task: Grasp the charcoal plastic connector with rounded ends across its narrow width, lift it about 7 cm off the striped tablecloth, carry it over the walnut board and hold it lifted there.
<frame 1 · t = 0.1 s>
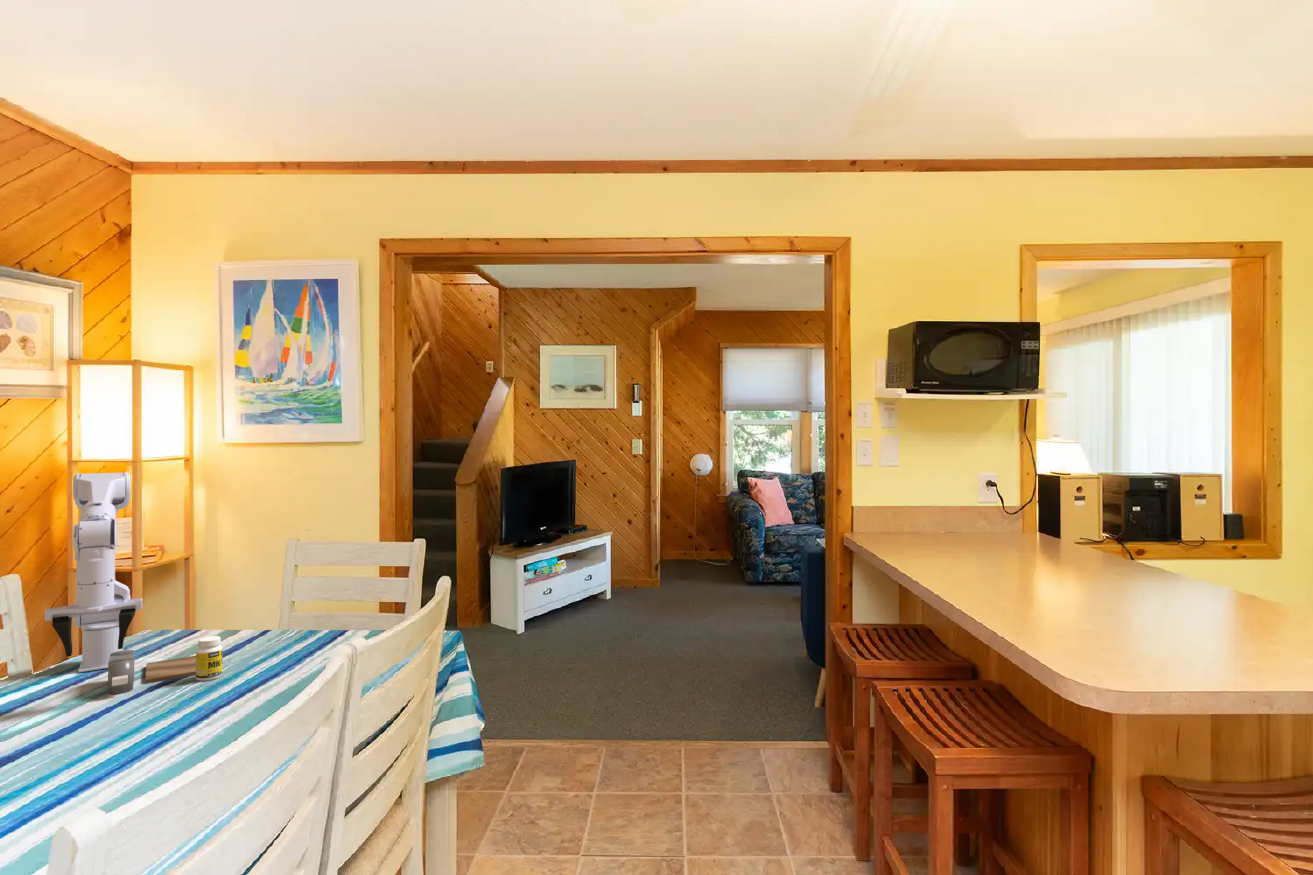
hand: (95, 651, 131), 10 cm above the table, tool pointing down, fingers open, 7 cm apart
supplement bottle: (209, 678, 144), on the table
walnut board: (179, 669, 150), on the table
connector: (121, 685, 140), on the table
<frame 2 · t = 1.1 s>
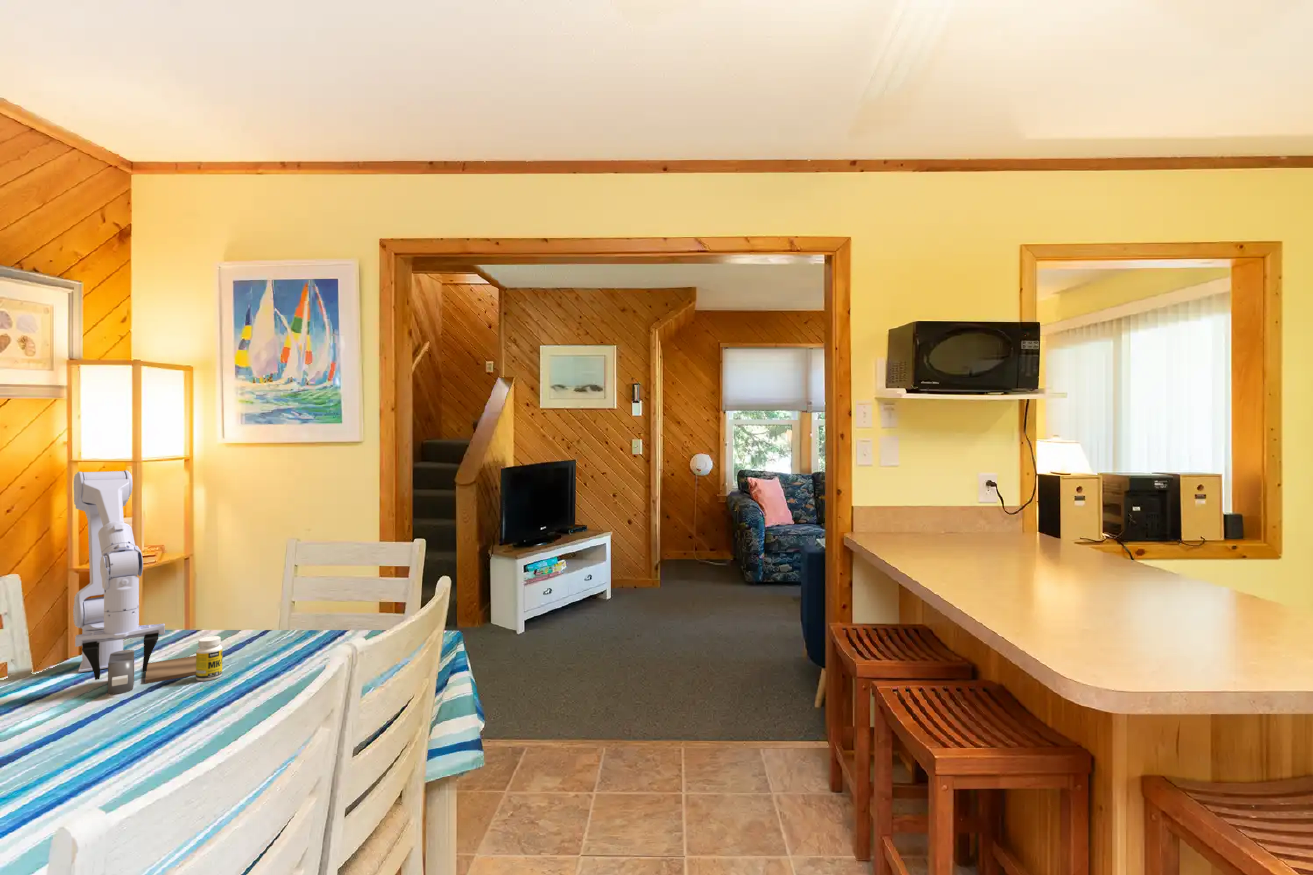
hand: (121, 674, 140), 2 cm above the table, tool pointing down, fingers open, 7 cm apart
nothing on the table moved.
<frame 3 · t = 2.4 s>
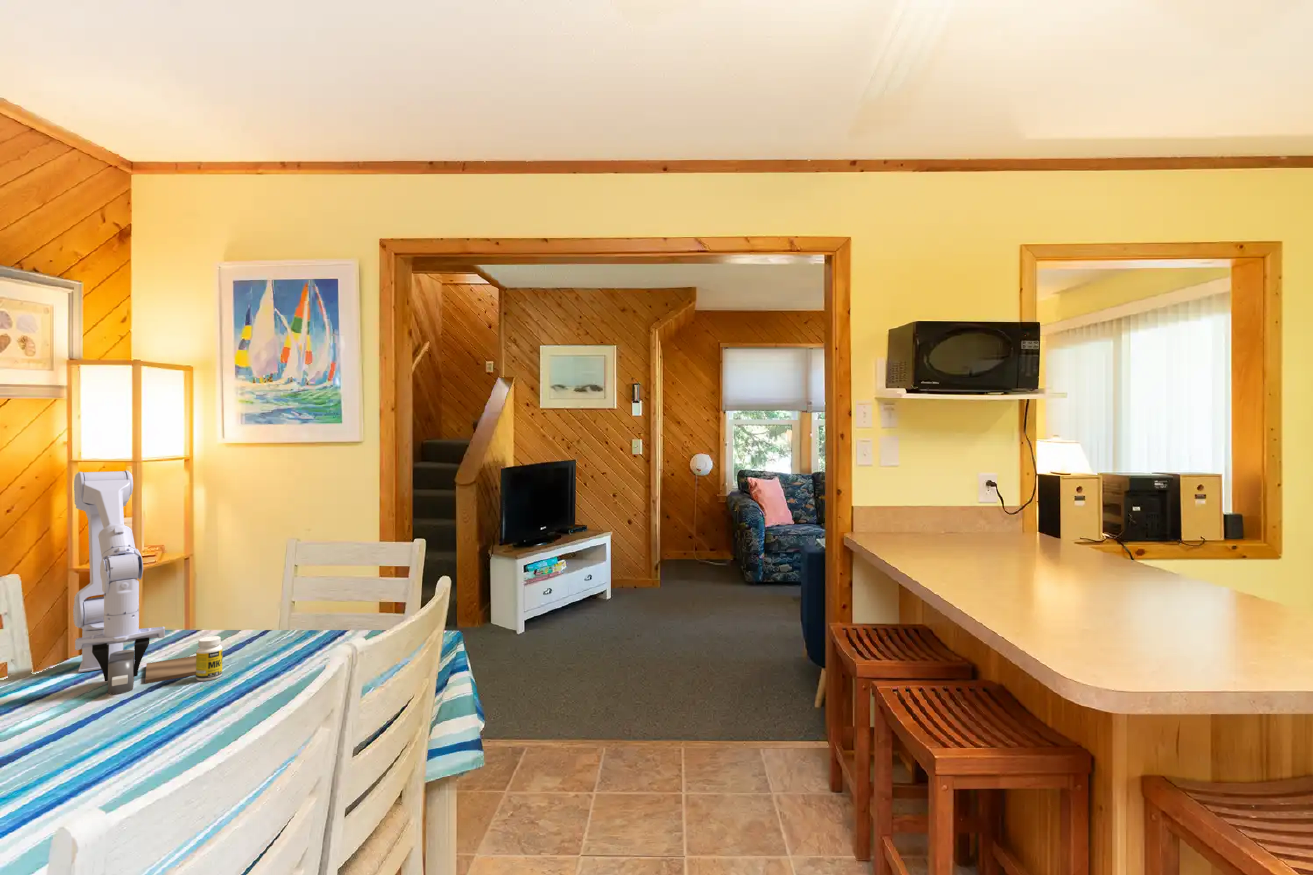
hand: (121, 677, 140), 2 cm above the table, tool pointing down, fingers closed on connector, 4 cm apart
connector: (121, 685, 140), on the table, touching gripper
everything else where it was.
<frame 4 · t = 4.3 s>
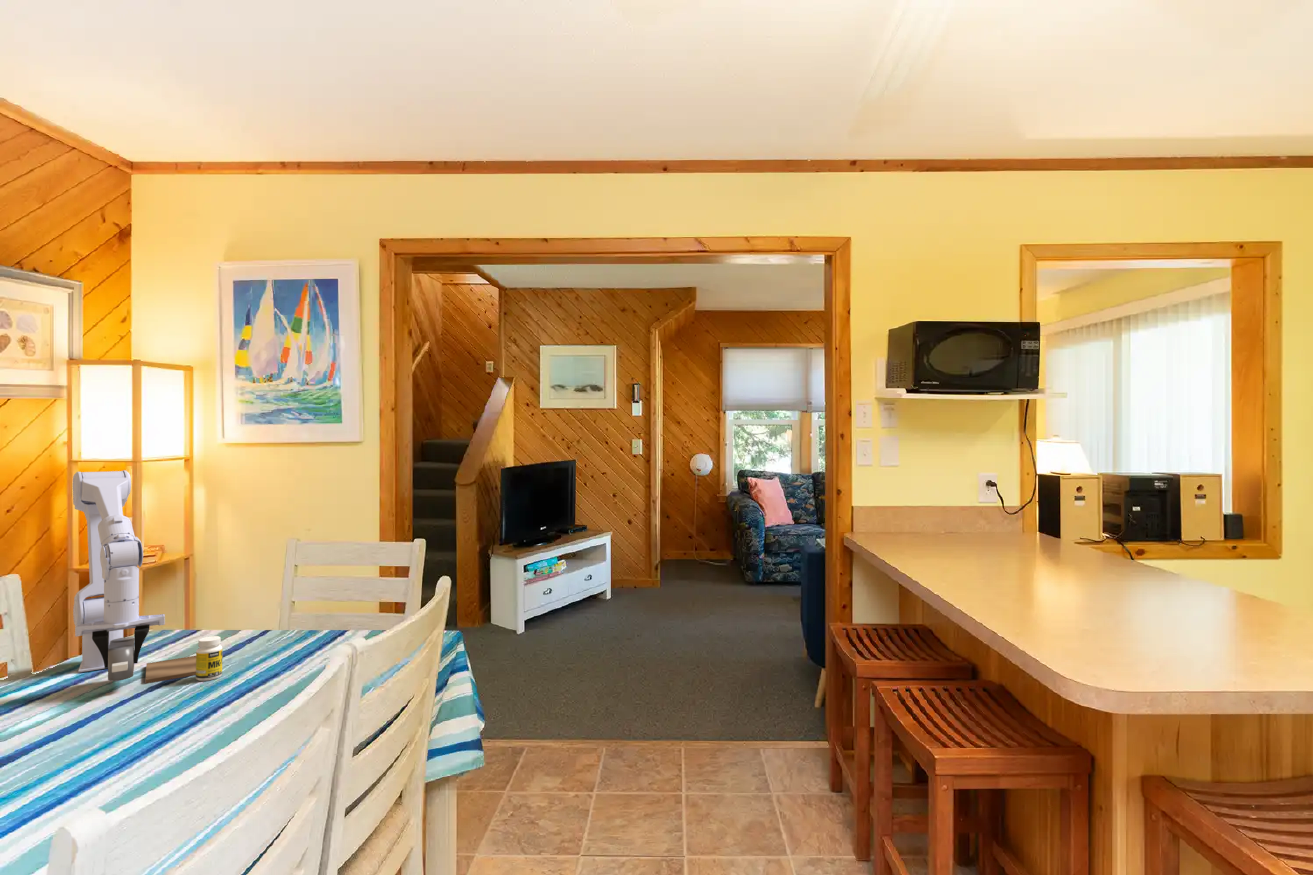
hand: (121, 664, 140), 4 cm above the table, tool pointing down, fingers closed on connector, 4 cm apart
connector: (121, 672, 140), point 3 cm above the table, touching gripper
everything else where it was.
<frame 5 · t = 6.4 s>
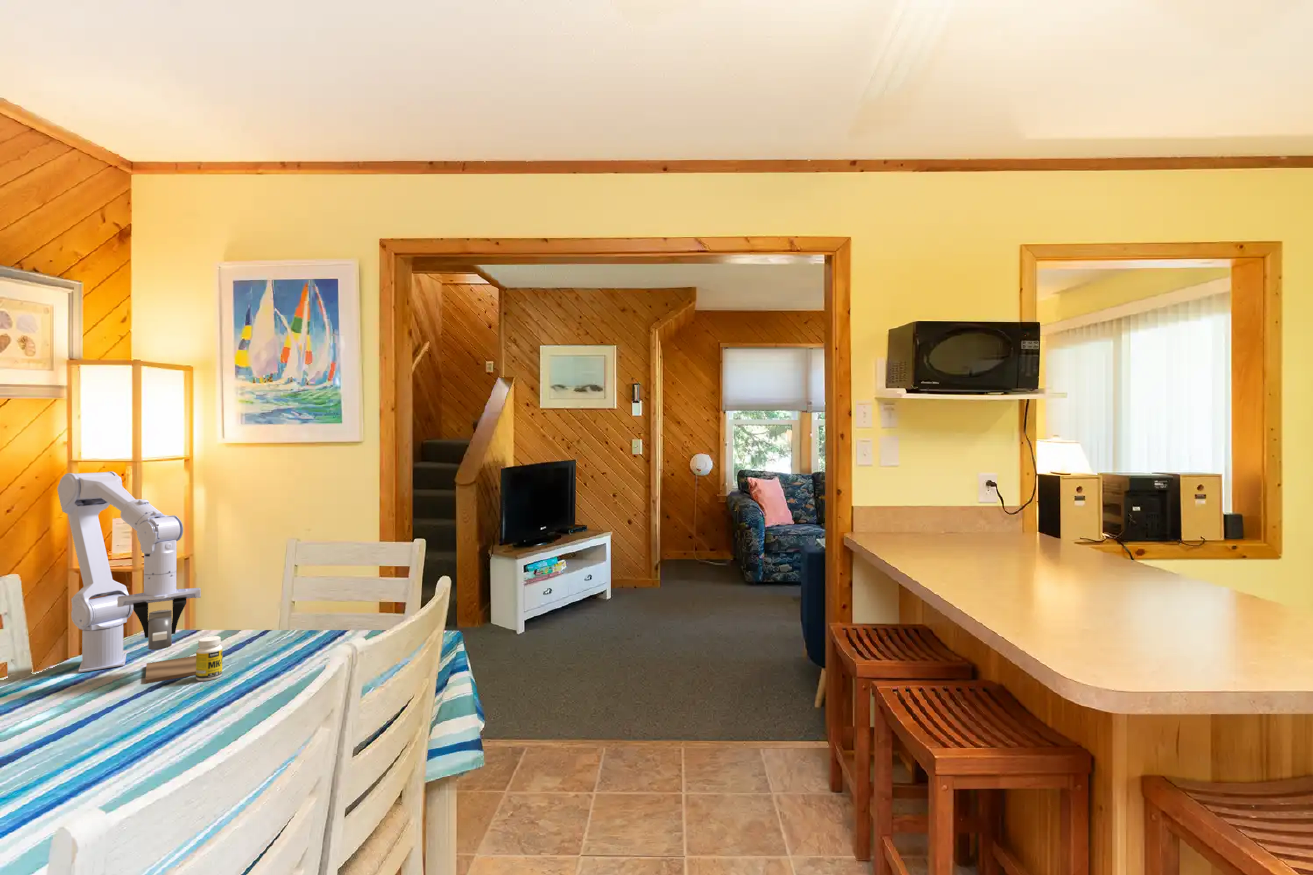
hand: (160, 634, 146), 9 cm above the table, tool pointing down, fingers closed on connector, 4 cm apart
connector: (160, 642, 146), point 7 cm above the table, touching gripper
everything else where it was.
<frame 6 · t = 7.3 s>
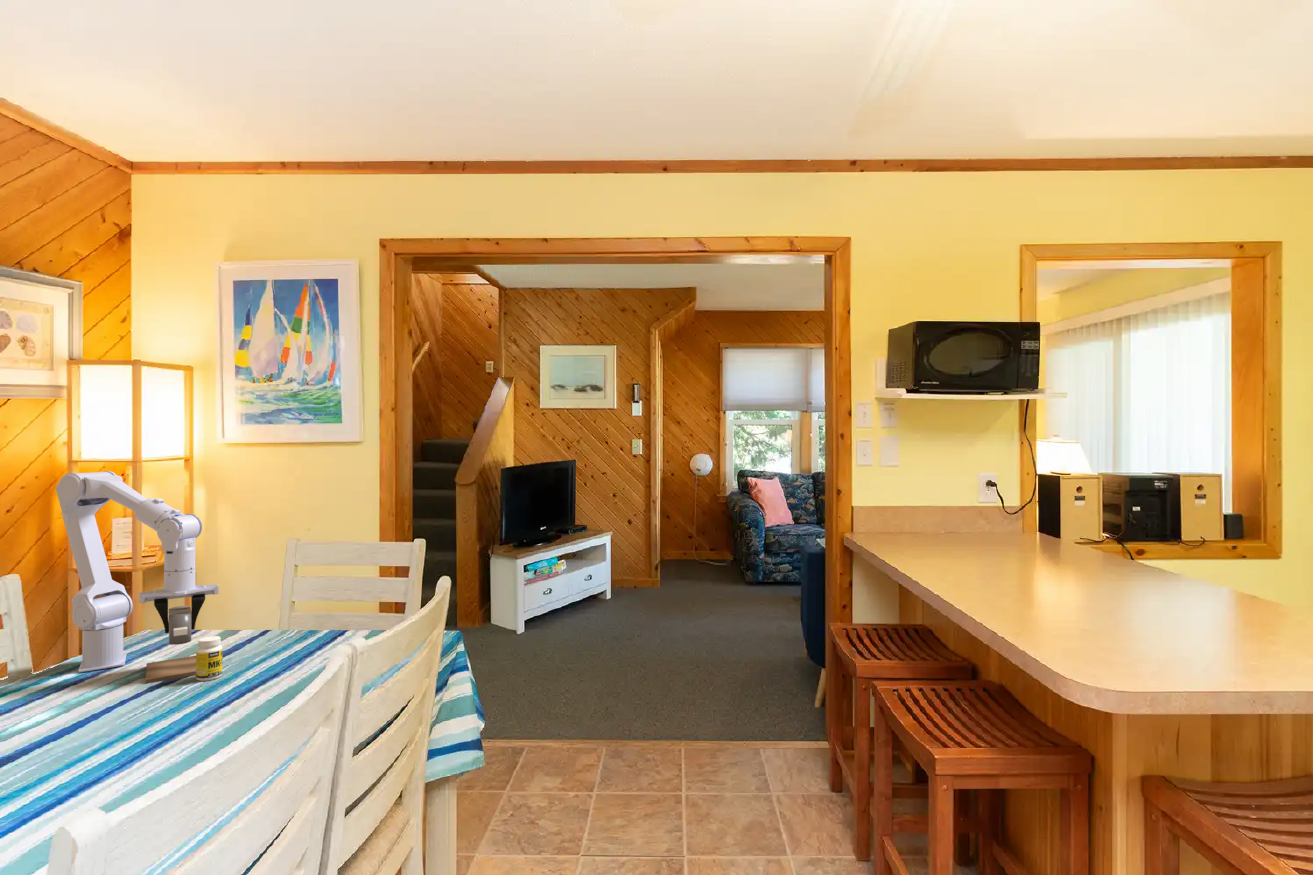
hand: (179, 630, 150), 9 cm above the table, tool pointing down, fingers closed on connector, 4 cm apart
connector: (179, 638, 150), point 7 cm above the table, touching gripper
everything else where it was.
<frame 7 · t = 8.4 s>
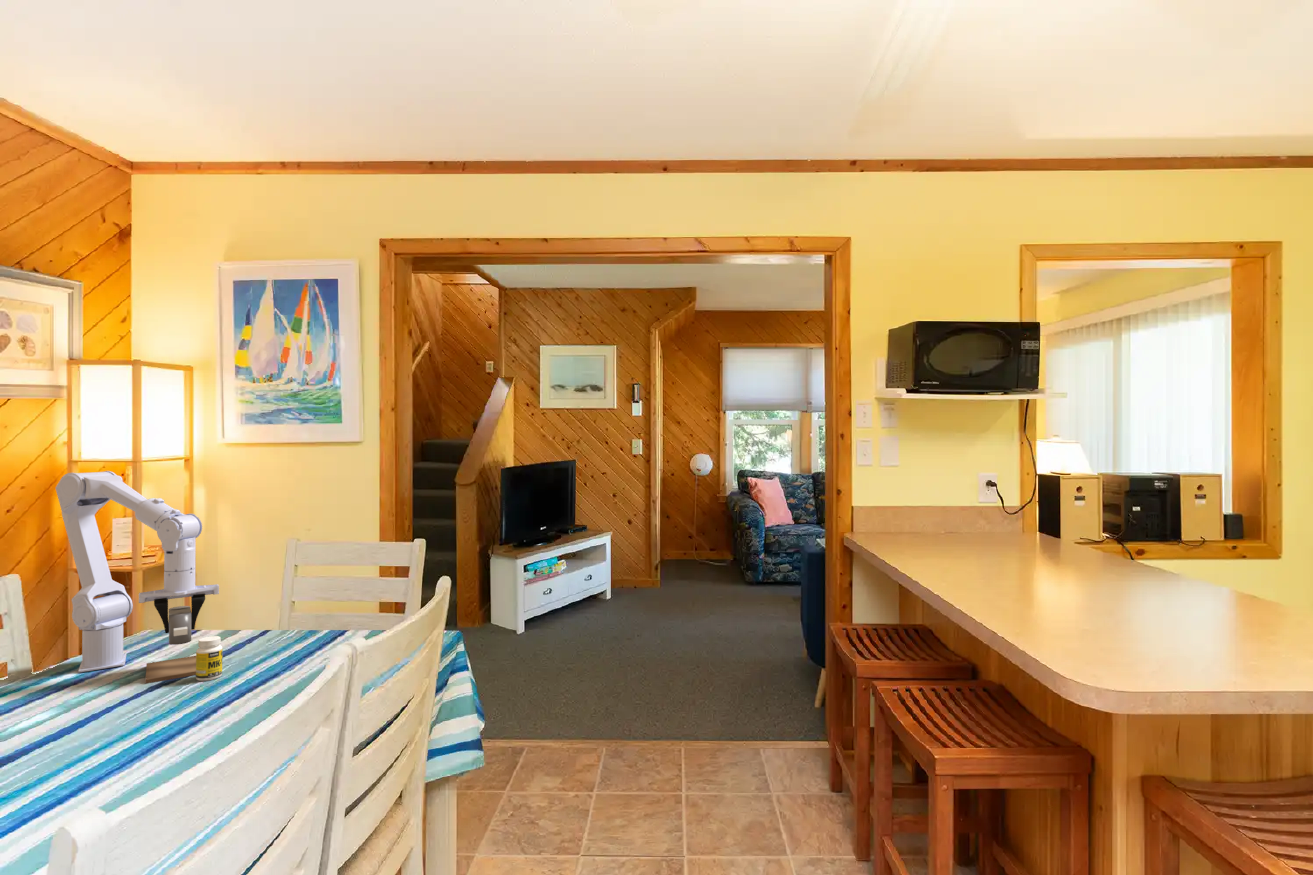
hand: (179, 630, 150), 9 cm above the table, tool pointing down, fingers closed on connector, 4 cm apart
connector: (179, 638, 150), point 7 cm above the table, touching gripper
everything else where it was.
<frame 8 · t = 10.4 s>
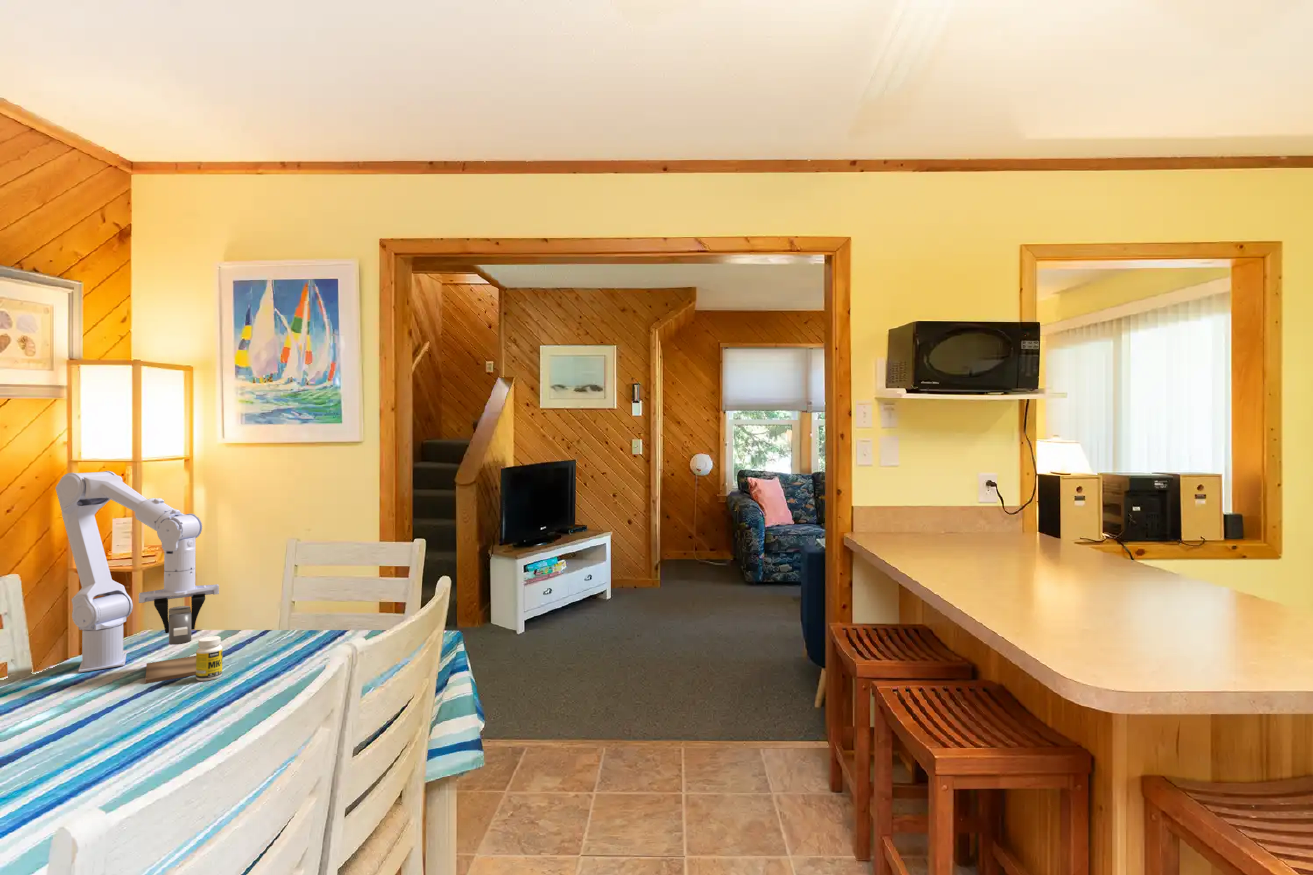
hand: (179, 630, 150), 9 cm above the table, tool pointing down, fingers closed on connector, 4 cm apart
connector: (179, 638, 150), point 7 cm above the table, touching gripper
everything else where it was.
at the end: the gripper is holding connector; connector point 7.0 cm above the table; connector 0.0 cm from the walnut board (horizontally) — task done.
